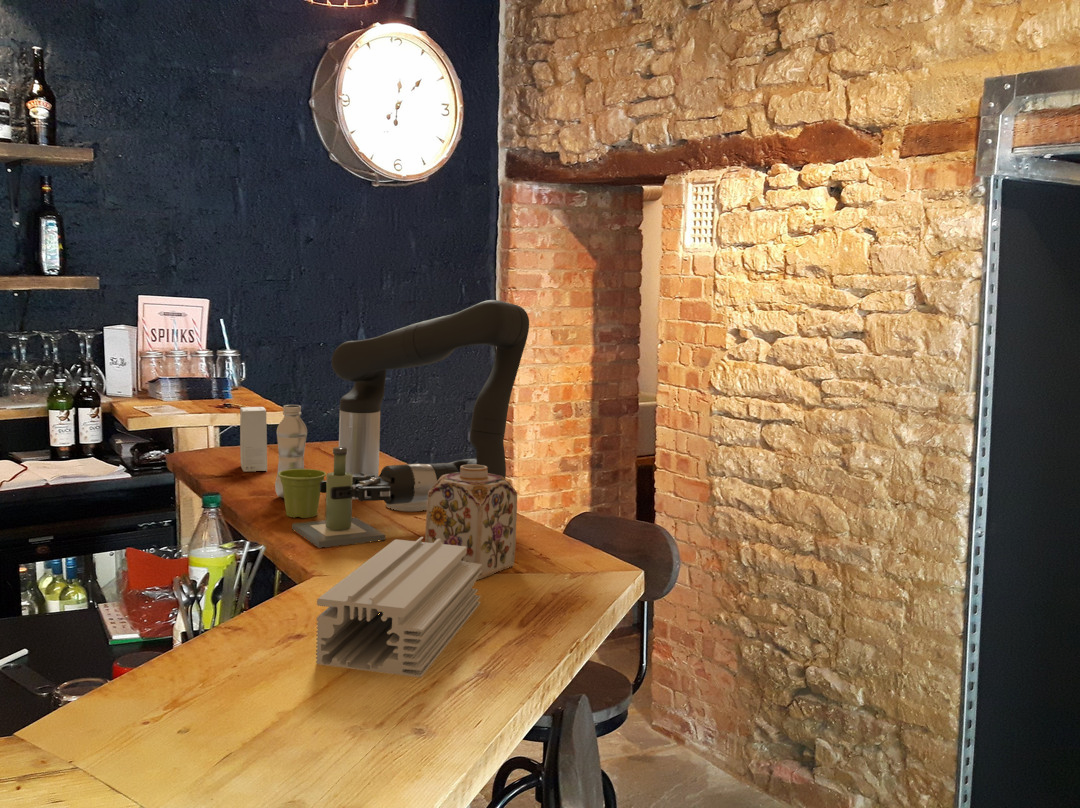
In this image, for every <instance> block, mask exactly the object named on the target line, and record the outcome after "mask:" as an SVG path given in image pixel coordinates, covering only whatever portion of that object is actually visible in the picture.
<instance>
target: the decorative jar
mask: <svg viewBox="0 0 1080 808" xmlns="http://www.w3.org/2000/svg"><path fill="white" fill-rule="evenodd" d="M517 511H518V492H517V491H516V490H515V488H514V487H513V486H512V484H511V482H509V481H508V480H507V479H506V477H505V478H504V477H502V476H499V475H494V474H490V473H488V470H487V466H484V465H478V464H467V465H462V466H460V472H456V473H450V474H445V475H442V476H441V477H440V478H439V480H438V481H437V482H436V483H435V484H434V486H433V487H432V488H431V489H430V490H429V491H428V500H427V510H426V517H425V532H424V533H425V537H424V538H425V539H424V542H427V543H434V542H435V541H436V540H437V539H441V542H442V543H443V544H447V545H457V546H466V547H467V554H466V555H465V556H464V557H463V558H462V559H461V561H466V562H471V563H476V564H477V563H479V564H482V566H481V567H480V568H479V569H478V570H481V571H482V572H481V573H480V574H479V576H478V579H477V580H476V581H480V580H482V579H485V578H487V576H488V577H490V576H492V575H491V574H493V575H495V574H494V573H496V572H498V571H500V572H502V571H501V570H503V569H505V570H507V569H506V568H508V567H510V568H512V567H513V566H514V564H515V558H516V556H515V555H516V545H517V543H516V541H517V517H518V515H517V514H518V512H517ZM511 566H512V567H511ZM508 569H509V568H508ZM503 571H504V570H503ZM498 573H499V572H498ZM496 574H497V573H496ZM489 575H490V576H489ZM484 577H485V578H484ZM479 579H480V580H479Z"/></svg>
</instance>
